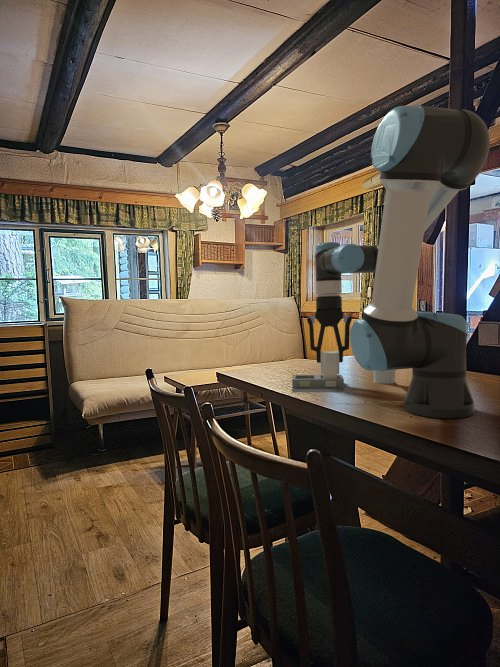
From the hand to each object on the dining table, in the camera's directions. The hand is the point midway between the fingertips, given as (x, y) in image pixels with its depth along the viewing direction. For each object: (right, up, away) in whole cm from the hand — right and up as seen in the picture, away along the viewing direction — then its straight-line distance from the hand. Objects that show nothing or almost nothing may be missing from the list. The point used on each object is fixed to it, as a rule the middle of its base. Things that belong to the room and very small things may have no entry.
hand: (329, 373), depth 131 cm
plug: (0, -4, 0) cm, 4 cm away
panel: (-4, -5, +1) cm, 6 cm away
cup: (+17, -4, +3) cm, 18 cm away
